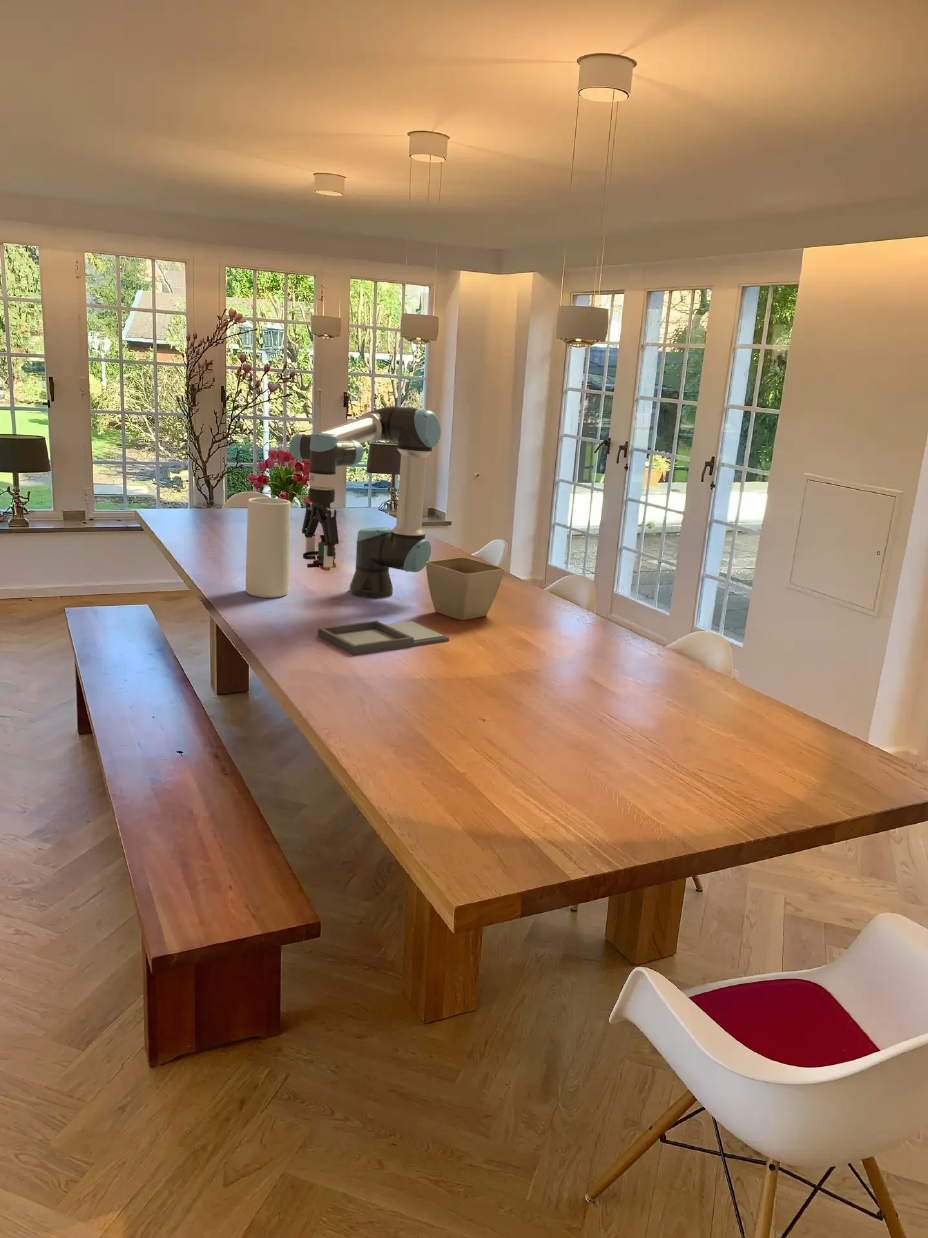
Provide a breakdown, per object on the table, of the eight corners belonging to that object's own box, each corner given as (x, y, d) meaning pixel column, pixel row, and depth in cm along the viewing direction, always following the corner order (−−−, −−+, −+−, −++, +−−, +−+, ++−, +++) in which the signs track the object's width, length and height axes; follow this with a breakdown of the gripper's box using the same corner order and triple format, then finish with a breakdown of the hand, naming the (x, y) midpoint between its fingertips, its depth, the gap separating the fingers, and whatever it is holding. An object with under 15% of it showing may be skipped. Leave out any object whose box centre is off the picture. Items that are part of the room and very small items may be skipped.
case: (411, 624, 285) (411, 616, 284) (448, 640, 271) (449, 632, 270) (317, 636, 264) (318, 628, 264) (353, 655, 250) (353, 646, 249)
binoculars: (308, 530, 270) (339, 531, 268) (310, 565, 273) (341, 566, 271) (296, 535, 262) (328, 535, 260) (298, 571, 264) (330, 571, 262)
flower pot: (501, 617, 302) (506, 567, 298) (462, 625, 289) (466, 573, 284) (460, 604, 315) (464, 556, 310) (420, 611, 301) (424, 561, 296)
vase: (296, 592, 312) (299, 500, 304) (274, 600, 299) (277, 505, 290) (259, 586, 316) (262, 495, 308) (237, 594, 303) (238, 500, 295)
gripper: (291, 482, 268) (289, 555, 274) (330, 494, 251) (326, 572, 256) (314, 482, 272) (311, 554, 278) (353, 493, 255) (349, 570, 261)
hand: (318, 562), depth 267 cm, fingers closed on binoculars, 10 cm apart
